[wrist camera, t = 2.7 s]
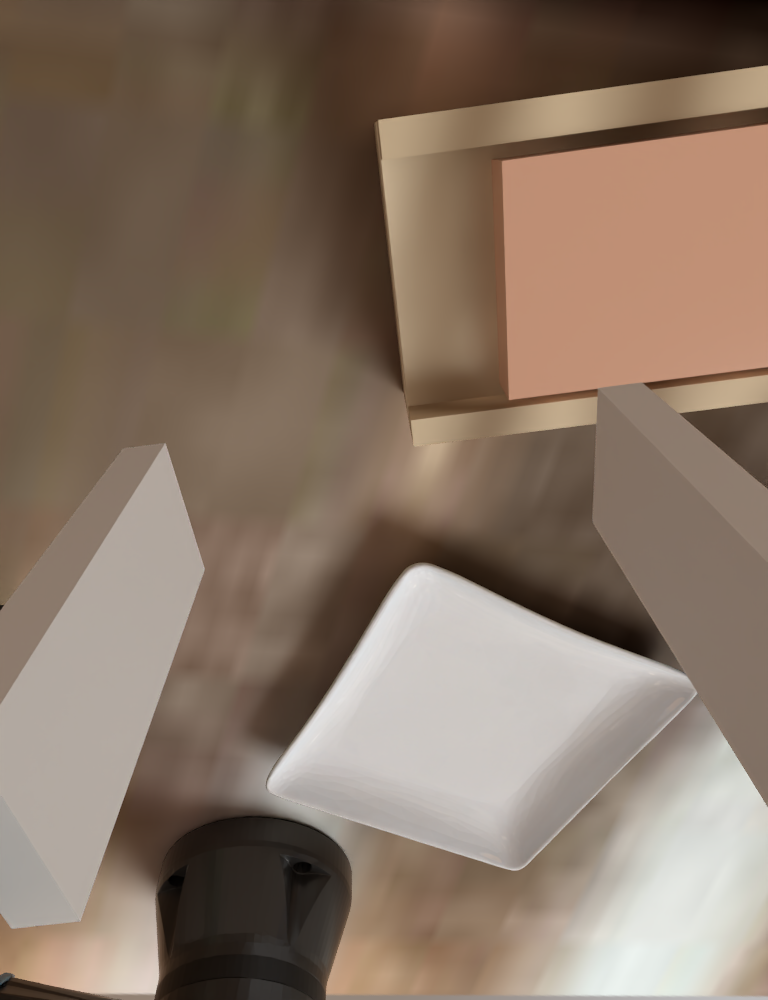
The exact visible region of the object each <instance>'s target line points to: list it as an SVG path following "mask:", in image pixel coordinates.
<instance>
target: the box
mask: <svg viewBox="0 0 768 1000" xmlns="http://www.w3.org/2000/svg"><path fill="white" fill-rule="evenodd" d="M767 121H768V65H767V66H760V67H753V68H746V69H739V70H732V71H724V72H717V73H710V74H703V75H696V76H689V77H682V78H674V79H667V80H660V81H653V82H646V83H639V84H632V85H624V86H617V87H610V88H603V89H596V90H589V91H581V92H574V93H567V94H560V95H553V96H546V97H539V98H531V99H524V100H517V101H510V102H503V103H496V104H489V105H481V106H474V107H467V108H460V109H453V110H446V111H438V112H431V113H424V114H417V115H410V116H403V117H396V118H388V119H381V120H378V121H376V122H375V123H374V132H375V141H376V150H377V159H378V168H379V177H380V186H381V195H382V204H383V212H384V221H385V230H386V239H387V248H388V257H389V266H390V275H391V284H392V293H393V302H394V311H395V320H396V329H397V338H398V346H399V355H400V364H401V373H402V382H403V391H404V397H405V403H406V408H407V414H408V419H409V424H410V430H411V435H412V440H413V446H414V447H415V446H423V445H431V444H439V443H447V442H454V441H462V440H470V439H478V438H486V437H494V436H502V435H510V434H518V433H526V432H534V431H542V430H550V429H557V428H565V427H573V426H581V425H589V424H596V422H597V398H598V389H591V390H584V391H576V392H568V393H560V394H552V395H544V396H537V397H529V398H521V399H513V400H509V399H508V398H507V396H506V394H505V392H504V391H503V389H502V387H501V386H500V384H499V359H498V331H497V303H496V276H495V248H494V221H493V193H492V165H491V159H498V158H505V157H513V156H520V155H527V154H534V153H542V152H549V151H556V150H563V149H571V148H578V147H585V146H592V145H600V144H607V143H614V142H622V141H629V140H636V139H643V138H651V137H658V136H665V135H672V134H680V133H687V132H694V131H701V130H709V129H716V128H723V127H731V126H738V125H745V124H752V123H760V122H767ZM643 384H644V385H646V386H647V387H648V388H649V389H650V390H651V391H653V392H654V393H655V394H656V395H657V396H659V397H660V398H661V399H662V400H663V401H664V402H666V403H667V404H668V405H669V406H670V407H671V408H673V409H674V410H675V411H676V412H677V413H684V412H692V411H700V410H708V409H716V408H724V407H732V406H740V405H747V404H755V403H763V402H768V367H764V368H756V369H748V370H740V371H732V372H725V373H717V374H709V375H701V376H693V377H685V378H678V379H670V380H662V381H654V382H646V383H643Z"/></svg>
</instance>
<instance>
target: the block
mask: <svg viewBox="0 0 768 1000" xmlns="http://www.w3.org/2000/svg"><path fill="white" fill-rule="evenodd" d="M491 165H492V193H493V221H494V248H495V276H496V303H497V331H498V359H499V384H500V386H501V387H502V389H503V391H504V392H505V394H506V396H507V398H508V399H509V400H513V399H521V398H529V397H537V396H544V395H552V394H560V393H568V392H576V391H584V390H591V389H598V388H602V387H609V386H617V385H625V384H633V383H641V382H642V383H646V382H654V381H662V380H670V379H678V378H685V377H693V376H701V375H709V374H717V373H725V372H732V371H740V370H748V369H756V368H764V367H768V121H767V122H760V123H752V124H745V125H738V126H731V127H723V128H716V129H709V130H701V131H694V132H687V133H680V134H672V135H665V136H658V137H651V138H643V139H636V140H629V141H622V142H614V143H607V144H600V145H592V146H585V147H578V148H571V149H563V150H556V151H549V152H542V153H534V154H527V155H520V156H513V157H505V158H498V159H491Z"/></svg>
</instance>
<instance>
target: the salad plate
mask: <svg viewBox="0 0 768 1000" xmlns="http://www.w3.org/2000/svg"><path fill="white" fill-rule="evenodd" d="M696 694H697V691H696V690H695V688H694V686H693V685H692V683H691V681H690V680H689V678H688V677H687V675H686V673H684V672H682V671H680V670H678V669H675V668H673V667H671V666H668V665H665V664H663V663H660V662H658V661H655V660H652V659H649V658H647V657H644V656H641V655H638V654H636V653H633V652H630V651H627V650H624V649H622V648H619V647H616V646H614V645H611V644H608V643H606V642H603V641H600V640H598V639H595V638H593V637H590V636H588V635H585V634H583V633H580V632H578V631H576V630H573V629H571V628H569V627H566V626H564V625H562V624H560V623H557V622H555V621H553V620H551V619H549V618H546V617H544V616H542V615H540V614H538V613H536V612H533V611H531V610H529V609H527V608H525V607H523V606H521V605H519V604H517V603H515V602H513V601H511V600H508V599H506V598H504V597H502V596H501V595H498V594H496V593H494V592H492V591H490V590H488V589H486V588H484V587H482V586H480V585H478V584H476V583H474V582H472V581H470V580H468V579H466V578H464V577H462V576H460V575H458V574H456V573H453V572H451V571H449V570H446V569H444V568H441V567H439V566H436V565H433V564H430V563H415V564H413V565H410V566H408V567H407V568H406V569H405V570H404V571H403V572H402V573H401V574H400V576H399V577H398V578H397V580H396V581H395V582H394V584H393V585H392V587H391V588H390V590H389V591H388V593H387V594H386V596H385V598H384V599H383V601H382V603H381V604H380V606H379V607H378V609H377V611H376V613H375V615H374V616H373V618H372V620H371V621H370V623H369V625H368V626H367V628H366V630H365V631H364V633H363V635H362V636H361V638H360V640H359V641H358V643H357V645H356V646H355V648H354V650H353V651H352V653H351V655H350V656H349V658H348V659H347V661H346V663H345V664H344V666H343V667H342V669H341V670H340V672H339V674H338V675H337V677H336V678H335V680H334V681H333V683H332V685H331V686H330V688H329V689H328V691H327V692H326V694H325V695H324V697H323V698H322V700H321V701H320V703H319V704H318V706H317V707H316V709H315V710H314V712H313V713H312V715H311V716H310V717H309V719H308V720H307V722H306V723H305V725H304V726H303V727H302V729H301V730H300V732H299V733H298V734H297V736H296V737H295V738H294V740H293V741H292V742H291V743H290V745H289V746H288V747H287V749H286V750H285V751H284V753H283V754H282V755H281V757H280V758H279V759H278V761H277V762H276V763H275V765H274V766H273V768H272V770H271V772H270V774H269V776H268V778H267V781H266V789H267V790H268V791H269V792H270V793H271V794H273V795H275V796H278V797H280V798H283V799H286V800H289V801H292V802H295V803H298V804H301V805H304V806H307V807H310V808H314V809H317V810H320V811H323V812H326V813H329V814H333V815H336V816H339V817H342V818H345V819H348V820H352V821H355V822H358V823H361V824H364V825H367V826H371V827H374V828H377V829H380V830H383V831H386V832H390V833H393V834H396V835H399V836H402V837H406V838H409V839H412V840H415V841H418V842H421V843H424V844H428V845H431V846H434V847H437V848H441V849H444V850H447V851H450V852H453V853H456V854H460V855H463V856H466V857H469V858H472V859H476V860H479V861H482V862H485V863H489V864H492V865H495V866H498V867H502V868H505V869H509V870H519V869H522V868H523V867H525V866H526V865H527V864H528V863H529V862H530V861H531V860H532V859H533V858H534V857H535V856H536V855H537V854H538V853H539V852H540V851H541V850H542V849H543V848H544V847H545V846H546V845H547V844H548V843H549V842H550V841H551V840H552V839H553V838H554V837H555V836H556V835H557V834H558V833H559V832H560V831H561V830H562V829H563V828H564V827H565V826H566V825H567V824H568V823H569V822H570V821H571V820H572V819H573V818H574V817H575V816H576V815H577V814H578V812H580V811H581V810H582V809H583V808H584V807H585V806H586V805H587V804H588V803H589V802H590V801H591V799H592V798H594V797H595V796H596V795H597V793H598V792H599V791H600V790H601V789H602V788H603V787H604V786H605V785H606V784H607V783H608V782H609V781H610V780H611V779H612V778H613V777H614V776H615V775H616V774H617V773H618V772H619V771H620V770H621V769H622V768H623V767H624V766H625V765H626V764H627V763H628V762H629V761H630V760H631V759H632V758H633V757H634V756H635V755H636V754H637V753H638V752H640V751H641V750H642V749H643V748H644V747H645V746H646V745H647V744H648V743H649V742H650V741H651V740H652V739H653V738H654V737H655V736H656V735H657V734H658V733H659V732H660V731H661V730H662V729H663V728H664V727H665V726H666V725H667V724H668V723H669V722H670V721H671V720H672V719H674V718H675V717H676V716H677V715H678V714H679V712H680V711H681V710H682V709H683V708H684V707H685V706H686V705H687V704H688V703H689V702H690V701H691V700H692V699H693V698H694V697H695V695H696Z"/></svg>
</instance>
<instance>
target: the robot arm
mask: <svg viewBox="0 0 768 1000" xmlns="http://www.w3.org/2000/svg"><path fill="white" fill-rule="evenodd" d="M592 522H593V524H594V526H595V527H596V529H597V531H598V532H599V534H600V535H601V537H602V539H603V540H604V542H605V544H606V545H607V547H608V548H609V550H610V552H611V553H612V555H613V557H614V558H615V560H616V561H617V563H618V565H619V566H620V568H621V569H622V571H623V573H624V574H625V576H626V578H627V579H628V581H629V582H630V584H631V586H632V587H633V589H634V591H635V592H636V594H637V595H638V597H639V599H640V600H641V602H642V604H643V605H644V607H645V608H646V610H647V612H648V613H649V615H650V617H651V618H652V620H653V621H654V623H655V625H656V626H657V628H658V630H659V631H660V633H661V634H662V636H663V638H664V639H665V641H666V643H667V644H668V646H669V647H670V649H671V651H672V652H673V654H674V655H675V657H676V659H677V660H678V662H679V664H680V665H681V667H682V668H683V670H684V672H685V673H686V675H687V677H688V678H689V680H690V681H691V683H692V685H693V686H694V688H695V690H696V691H697V693H698V694H699V696H700V698H701V699H702V701H703V703H704V704H705V706H706V707H707V709H708V711H709V712H710V714H711V716H712V717H713V719H714V720H715V722H716V724H717V725H718V727H719V728H720V730H721V732H722V733H723V735H724V737H725V738H726V740H727V741H728V743H729V745H730V746H731V748H732V750H733V751H734V753H735V754H736V756H737V758H738V759H739V761H740V763H741V764H742V766H743V767H744V769H745V771H746V772H747V774H748V776H749V777H750V779H751V780H752V782H753V784H754V785H755V787H756V789H757V790H758V792H759V793H760V795H761V797H762V798H763V800H764V802H765V803H766V805H767V806H768V489H767V488H766V487H764V486H763V485H762V484H761V483H760V482H758V481H757V480H756V479H755V478H754V477H753V476H751V475H750V474H749V473H748V472H747V471H746V470H744V469H743V468H742V467H741V466H740V465H738V464H737V463H736V462H735V461H734V460H733V459H731V458H730V457H729V456H728V455H727V454H726V453H724V452H723V451H722V450H721V449H720V448H718V447H717V446H716V445H715V444H714V443H713V442H711V441H710V440H709V439H708V438H707V437H706V436H704V435H703V434H702V433H701V432H700V431H699V430H697V429H696V428H695V427H694V426H693V425H691V424H690V423H689V422H688V421H687V420H686V419H684V418H683V417H682V416H681V415H680V414H679V413H677V412H676V411H675V410H674V409H673V408H671V407H670V406H669V405H668V404H667V403H666V402H664V401H663V400H662V399H661V398H660V397H659V396H657V395H656V394H655V393H654V392H653V391H651V390H650V389H649V388H648V387H647V386H646V385H644V384H643V383H642V382H641V383H633V384H625V385H617V386H609V387H602V388H598V398H597V422H596V446H595V470H594V494H593V518H592ZM204 570H205V569H204V565H203V562H202V559H201V556H200V552H199V549H198V546H197V543H196V540H195V536H194V533H193V530H192V527H191V524H190V520H189V517H188V514H187V511H186V508H185V504H184V501H183V498H182V495H181V492H180V488H179V485H178V482H177V479H176V475H175V472H174V469H173V466H172V463H171V459H170V456H169V453H168V450H167V447H166V443H162V444H154V445H146V446H138V447H130V448H123V449H122V451H121V452H120V453H119V454H118V456H117V457H116V458H115V460H114V461H113V462H112V464H111V465H110V466H109V468H108V469H107V470H106V472H105V473H104V474H103V476H102V477H101V478H100V480H99V481H98V482H97V484H96V485H95V486H94V488H93V489H92V490H91V491H90V493H89V494H88V495H87V497H86V498H85V499H84V501H83V502H82V503H81V505H80V506H79V507H78V509H77V510H76V511H75V513H74V514H73V515H72V517H71V518H70V519H69V521H68V522H67V523H66V525H65V526H64V527H63V528H62V530H61V531H60V532H59V534H58V535H57V536H56V538H55V539H54V540H53V542H52V543H51V544H50V546H49V547H48V548H47V550H46V551H45V552H44V554H43V555H42V556H41V558H40V559H39V560H38V562H37V563H36V564H35V565H34V567H33V568H32V569H31V571H30V572H29V573H28V575H27V576H26V577H25V579H24V580H23V581H22V583H21V584H20V585H19V587H18V588H17V589H16V591H15V592H14V593H13V595H12V596H11V597H10V599H9V600H8V601H7V602H6V604H5V605H0V913H1V915H2V916H3V917H4V919H5V920H6V921H7V923H8V924H9V926H10V927H11V928H12V929H14V928H23V927H32V926H41V925H51V924H60V923H69V922H78V921H81V918H82V915H83V913H84V910H85V907H86V904H87V901H88V898H89V896H90V893H91V890H92V887H93V884H94V881H95V879H96V876H97V873H98V870H99V867H100V865H101V862H102V859H103V856H104V853H105V850H106V848H107V845H108V842H109V839H110V836H111V833H112V831H113V828H114V825H115V822H116V819H117V816H118V814H119V811H120V808H121V805H122V802H123V799H124V797H125V794H126V791H127V788H128V785H129V782H130V780H131V777H132V774H133V771H134V768H135V765H136V763H137V760H138V757H139V754H140V751H141V749H142V746H143V743H144V740H145V737H146V734H147V732H148V729H149V726H150V723H151V720H152V717H153V715H154V712H155V709H156V706H157V703H158V700H159V698H160V695H161V692H162V689H163V686H164V683H165V681H166V678H167V675H168V672H169V669H170V666H171V664H172V661H173V658H174V655H175V652H176V649H177V647H178V644H179V641H180V638H181V635H182V633H183V630H184V627H185V624H186V621H187V618H188V616H189V613H190V610H191V607H192V604H193V601H194V599H195V596H196V593H197V590H198V587H199V584H200V582H201V579H202V576H203V573H204ZM351 899H352V871H351V866H350V863H349V861H348V859H347V857H346V855H345V854H344V852H343V851H342V850H341V849H340V848H339V847H338V846H337V845H336V844H335V843H334V842H333V841H332V840H330V839H329V838H327V837H326V836H324V835H323V834H321V833H319V832H317V831H315V830H313V829H311V828H308V827H306V826H303V825H300V824H297V823H293V822H289V821H284V820H279V819H271V818H236V819H229V820H224V821H219V822H215V823H212V824H208V825H206V826H203V827H200V828H198V829H196V830H194V831H192V832H190V833H188V834H187V835H185V836H184V837H182V838H181V839H180V840H179V841H177V842H176V843H175V844H174V845H173V846H172V848H171V849H170V850H169V852H168V853H167V855H166V857H165V859H164V862H163V866H162V869H161V873H160V877H159V881H158V885H157V889H156V898H155V901H156V921H157V940H158V959H159V981H158V986H157V990H156V995H155V999H154V1000H326V986H327V981H328V978H329V975H330V972H331V969H332V966H333V962H334V959H335V956H336V953H337V950H338V947H339V944H340V940H341V937H342V934H343V931H344V928H345V925H346V921H347V918H348V915H349V912H350V907H351ZM14 977H15V975H13V974H11V973H4V974H2V975H0V1000H120V999H114V998H109V997H104V996H100V995H95V994H90V993H85V992H80V991H74V990H69V989H64V988H59V987H54V986H49V985H45V984H40V983H36V982H31V981H27V980H22V979H18V978H14Z"/></svg>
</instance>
